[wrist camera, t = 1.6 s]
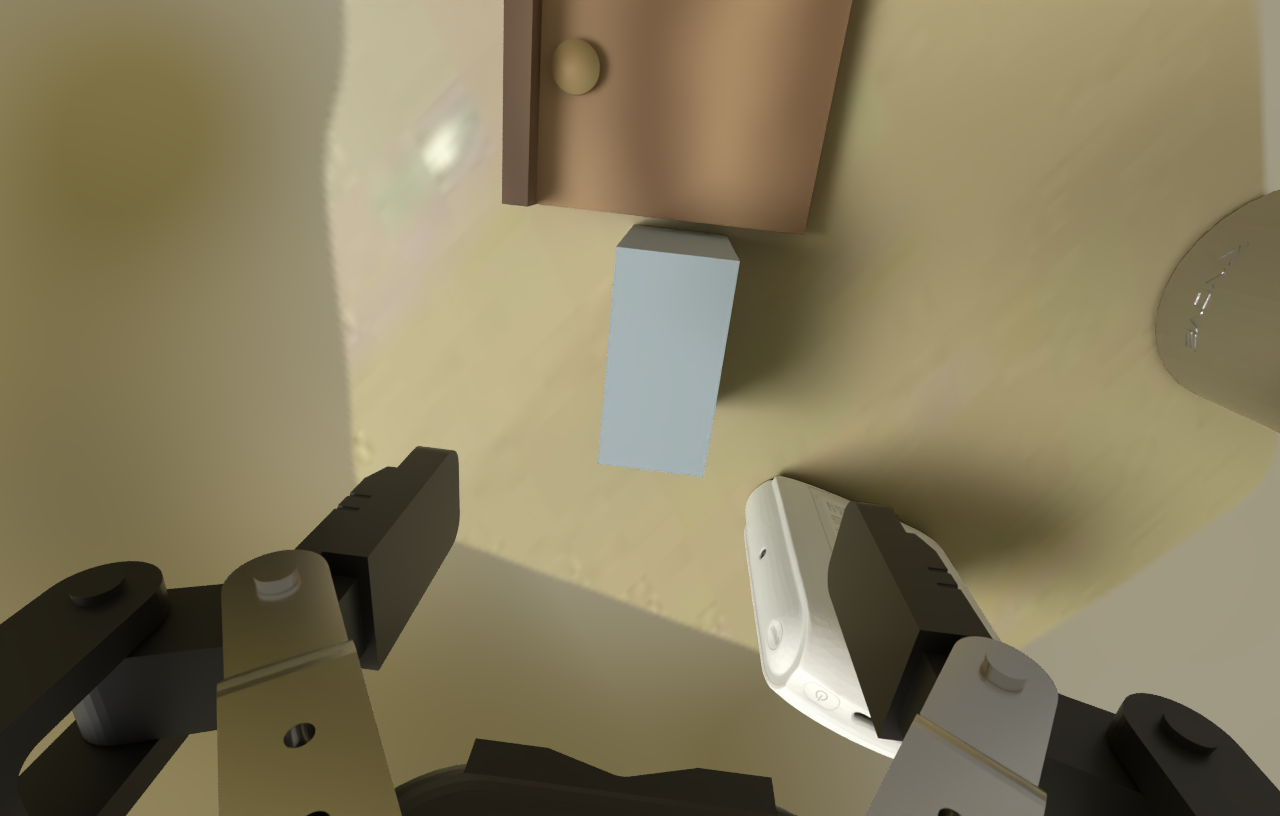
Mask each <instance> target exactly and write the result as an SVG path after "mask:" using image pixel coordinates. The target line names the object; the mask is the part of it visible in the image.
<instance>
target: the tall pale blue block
mask: <svg viewBox="0 0 1280 816" xmlns="http://www.w3.org/2000/svg"><path fill="white" fill-rule="evenodd" d="M739 264H740V260H739V258H738V257H737V255H736V253H735V251H734V249H733V247H732V245H731V243H730V241H729V239H728V237H727V236H726V235H719V234H710V233H702V232H693V231H684V230H676V229H667V228H658V227H650V226H641V225H633V227H632V228H631V229H630V230H629V232H628V233H627V234H626V235H625V237H624V238H623V239H622V240H621V242H620V243H619V244H618V245H617V247H616V257H615V269H614V281H613V292H612V304H611V316H610V328H609V339H608V351H607V363H606V375H605V387H604V398H603V410H602V422H601V434H600V446H599V457H598V464H603V465H611V466H619V467H627V468H635V469H643V470H651V471H659V472H666V473H674V474H682V475H690V476H698V477H704V472H705V466H706V460H707V454H708V448H709V442H710V436H711V431H712V425H713V419H714V413H715V407H716V401H717V395H718V389H719V383H720V377H721V371H722V365H723V359H724V353H725V347H726V341H727V335H728V329H729V323H730V317H731V311H732V306H733V300H734V294H735V288H736V282H737V276H738V270H739Z"/></svg>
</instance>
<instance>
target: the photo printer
mask: <svg viewBox="0 0 1280 816" xmlns="http://www.w3.org/2000/svg"><path fill="white" fill-rule="evenodd" d="M849 502H850V501H849V500H847V499H844V498H842V497H840V496H837V495H835V494H832V493H830V492H827V491H825V490H823V489H820V488H817V487H814V486H812V485H809V484H806V483H803V482H800V481H797V480H794V479H791V478H787V477H782V476H775V478H774V479H773V480H769V481H766V482H765V483H763V484H761V485H760V486H759V487H757V488H756V489H755V490H754V492H753V493H752V494H751V495H750V497H749V499H748V501H747V504H746V510H745V513H746V522H747V524H746V526H745V528H744V538H745V546H746V555H747V562H748V570H749V577H750V584H751V592H752V600H753V607H754V615H755V622H756V629H757V636H758V643H759V650H760V657H761V665H762V670H763V674H764V677H765V679H766V681H767V683H768V685H769V686H770V688H771V689H772V690H774V691H775V692H776V693H777V694H778V695H780V696H781V697H782V698H783V699H784V700H786V701H787V702H788V703H789V704H791V705H792V706H793V707H795V708H796V709H798V710H799V711H801V712H802V713H804V714H805V715H807V716H809V717H810V718H812V719H813V720H815V721H817V722H818V723H820V724H822V725H823V726H825V727H827V728H829V729H831V730H833V731H834V732H836V733H838V734H840V735H842V736H844V737H846V738H848V739H849V740H851V741H853V742H856V743H858V744H860V745H862V746H865V747H867V748H869V749H871V750H873V751H876V752H878V753H880V754H883V755H885V756H888V757H890V758H893V759H894V758H895V756H896V754H897V752H898V750H899V748H900V746H901V744H902V742H903V741H895V740H887V739H880V738H878V737H877V734H876V731H875V728H874V725H873V722H872V719H871V716H870V713H869V710H868V707H867V704H866V702H865V699H864V696H863V693H862V690H861V687H860V684H859V681H858V678H857V675H856V672H855V669H854V666H853V663H852V660H851V657H850V654H849V651H848V648H847V646H846V643H845V640H844V637H843V634H842V631H841V628H840V625H839V622H838V619H837V616H836V613H835V610H834V607H833V604H832V601H831V598H830V595H829V591H828V582H827V577H828V567H829V562H830V558H831V555H832V551H833V548H834V545H835V541H836V538H837V534H838V531H839V527H840V524H841V520H842V517H843V513H844V510H845V508H846V506H847V504H848V503H849ZM900 523H901V522H900ZM901 524H902V526H903V528H904V529H905V531H906V532H907V533H915V534H916V535H917V536H918V537H920V538H921V539H922V540H923V541H924V542H926V543H927V544H928V545H929V546H930V547H932V548H933V549H934V550H935V551H936V552H937V554H938V555H939V557H940V558H941V560H942V561H943V563H944V564H945V566H946V567H947V569H948V573H950V574H951V575H952V577H953V578H954V580H955V581H956V583H957V584H958V589H961V591H962V592H963V594H964V595H965V597H966V598H967V600H968V601H969V603H970V604H971V606H972V608H973V609H974V611H975V612H976V614H977V615H978V617H979V618H980V620H981V621H982V623H983V625H984V626H985V628H986V629H987V631H988V632H989V634H990V635H991V637H992V638H993V639H994V640H997V641H1000V642H1001V640H1000V639H999V637H998V636H997V634H996V633H995V631H994V630H993V628H992V626H991V625H990V623H989V622H988V620H987V619H986V617H985V616H984V614H983V612H982V611H981V609H980V608H979V606H978V604H977V603H976V601H975V600H974V598H973V597H972V595H971V593H970V592H969V590H968V589H967V587H966V586H965V584H964V583H963V581H962V579H961V578H960V576H959V575H958V573H957V571H956V570H955V568H954V566H953V565H952V564H951V562H950V560H949V558H948V557H947V556H946V554H945V552H944V551H943V550H942V548H941V547H940V546H939V545H938V544H937V543H936V542H935V541H934V540H932V539H931V538H930V537H928V536H927V535H925V534H923V533H922V532H920V531H918V530H916V529H914V528H912V527H910V526H908V525H906V524H903V523H901Z"/></svg>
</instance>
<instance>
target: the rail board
mask: <svg viewBox="0 0 1280 816" xmlns="http://www.w3.org/2000/svg"><path fill="white" fill-rule="evenodd" d="M852 1H853V0H504V55H503V163H502V204H510V205H519V206H531V205H534V204H541V205H549V206H558V207H567V208H575V209H584V210H593V211H601V212H610V213H619V214H628V215H636V216H645V217H654V218H662V219H671V220H680V221H688V222H697V223H706V224H714V225H723V226H732V227H740V228H749V229H758V230H766V231H775V232H784V233H792V234H801V235H804V233H805V228H806V223H807V218H808V213H809V209H810V204H811V199H812V194H813V189H814V184H815V180H816V175H817V170H818V165H819V160H820V155H821V151H822V146H823V141H824V136H825V131H826V126H827V122H828V117H829V112H830V107H831V102H832V97H833V93H834V88H835V83H836V78H837V73H838V68H839V64H840V59H841V54H842V49H843V44H844V39H845V35H846V30H847V25H848V20H849V15H850V10H851V6H852Z"/></svg>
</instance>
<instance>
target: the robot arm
mask: <svg viewBox="0 0 1280 816" xmlns="http://www.w3.org/2000/svg"><path fill="white" fill-rule="evenodd" d="M1155 333H1156V340H1157V348H1158V352H1159V355H1160V357H1161V359H1162V361H1163V364H1164V366H1165V368H1166V370H1167V371H1168V372H1169V373H1170V374H1171V375H1172V376H1173V378H1174V379H1175V380H1176V381H1177V382H1178V383H1179V384H1181V385H1182V386H1184V387H1185V388H1187V389H1188V390H1190V391H1192V392H1193V393H1195V394H1197V395H1199V396H1201V397H1203V398H1206V399H1208V400H1210V401H1212V402H1214V403H1217V404H1219V405H1221V406H1223V407H1225V408H1227V409H1230V410H1232V411H1234V412H1236V413H1238V414H1240V415H1243V416H1245V417H1247V418H1249V419H1251V420H1253V421H1256V422H1258V423H1260V424H1262V425H1264V426H1266V427H1269V428H1270V429H1272V430H1274V431H1276V432H1278V433H1280V190H1278V191H1274V192H1272V193H1269V194H1267V195H1265V196H1263V197H1261V198H1259V199H1256V200H1254V201H1252V202H1250V203H1248V204H1246V205H1244V206H1242V207H1241V208H1239V209H1238V210H1236V211H1235V212H1233V213H1232V214H1230V215H1229V216H1227V217H1226V218H1224V219H1223V220H1221V221H1220V222H1219V223H1217V224H1216V225H1215V226H1214V227H1213V228H1212V229H1211V230H1210V231H1208V232H1207V233H1206V234H1205V235H1204V236H1203V237H1202V238H1201V239H1200V240H1198V241H1197V242H1196V244H1195V245H1194V246H1193V247H1192V249H1191V250H1190V251H1189V252H1188V253H1187V255H1186V256H1185V257H1184V258H1183V259H1182V261H1181V262H1180V263H1179V265H1178V266H1177V268H1176V270H1175V272H1174V273H1173V275H1172V277H1171V279H1170V280H1169V282H1168V284H1167V285H1166V288H1165V290H1164V293H1163V296H1162V299H1161V302H1160V305H1159V308H1158V312H1157V321H1156V330H1155ZM459 518H460V507H459V462H458V455H457V453H456V451H454V450H446V449H438V448H430V447H422V446H418V447H416V448H415V449H414V450H413V451H412V452H411V453H410V454H409V455H408V456H407V458H406V459H405V460H404V461H403V462H402V463H401V464H400V465H399V466H398V467H397V468H396V467H386V468H384V469H382V470H380V471H378V472H376V473H374V474H372V475H370V476H368V477H366V478H364V479H363V480H362V481H361V482H360V484H359V485H358V486H357V487H356V488H355V489H354V490H353V491H352V492H351V493H350V496H347V497H346V498H345V499H344V500H343V501H342V502H341V503H340V504H339V505H338V508H337V509H334V510H333V511H332V512H331V513H330V514H329V515H328V516H327V517H326V518H325V519H324V520H323V521H322V522H321V523H320V524H319V525H318V526H317V527H316V528H315V529H314V530H313V531H312V532H311V533H310V534H309V535H308V536H307V537H306V538H305V539H304V540H303V541H302V542H301V543H300V544H299V545H298V546H297V547H296V548H295V549H294V550H282V551H276V552H272V553H268V554H264V555H262V556H259V557H257V558H254V559H252V560H250V561H248V562H246V563H244V564H243V565H241V566H239V567H238V568H237V569H235V570H234V571H233V572H232V573H231V574H230V575H229V576H228V577H227V579H226V580H225V581H224V583H223V584H218V585H207V586H197V587H186V588H177V589H176V588H175V589H166V586H165V582H164V579H163V575H162V572H161V570H160V569H159V568H158V567H156V566H154V565H153V564H149V563H145V562H139V561H127V562H116V563H110V564H105V565H101V566H97V567H94V568H90V569H87V570H85V571H82V572H79V573H77V574H74V575H72V576H70V577H68V578H66V579H64V580H62V581H60V582H59V583H57V584H55V585H54V586H52V587H51V588H49V589H48V590H47V591H45V592H44V593H42V594H41V595H40V596H38V597H37V598H36V599H34V600H33V601H32V602H30V603H29V604H28V605H26V606H25V607H23V608H22V609H21V610H19V611H18V612H17V613H15V614H14V615H12V616H11V617H10V618H8V619H7V620H6V621H4V622H3V623H2V624H0V816H126V815H127V813H128V812H129V811H130V810H131V808H132V807H133V806H134V805H135V803H136V802H137V801H138V799H139V798H140V797H141V796H142V794H143V793H144V792H145V790H146V789H147V788H148V787H149V785H150V784H151V783H152V782H153V780H154V779H155V778H156V776H157V775H158V774H159V773H160V771H161V770H162V769H163V767H164V766H165V765H166V763H167V762H168V761H169V760H170V758H171V757H172V756H173V754H174V753H175V752H176V751H177V749H178V748H179V747H180V746H181V744H182V743H183V742H184V741H185V739H186V738H187V737H188V735H189V734H194V733H200V732H207V731H213V730H217V747H218V748H217V750H218V798H219V799H218V800H219V801H218V802H219V816H797V815H795V814H793V813H791V812H789V811H787V810H785V809H783V808H781V807H778V806H776V805H775V799H774V792H773V785H772V778H770V777H762V776H754V775H747V774H739V773H731V772H724V771H717V770H709V769H702V768H695V769H687V770H679V771H671V772H663V773H655V774H647V775H639V776H631V777H621V776H616V775H613V774H611V773H608V772H606V771H603V770H601V769H598V768H596V767H594V766H591V765H588V764H586V763H584V762H581V761H579V760H576V759H574V758H571V757H569V756H566V755H564V754H562V753H559V752H557V751H554V750H552V749H549V748H544V747H536V746H529V745H521V744H514V743H506V742H499V741H491V740H484V739H476V740H475V742H474V745H473V748H472V751H471V754H470V757H469V760H468V762H467V764H461V765H455V766H450V767H446V768H442V769H438V770H435V771H432V772H429V773H427V774H424V775H421V776H418V777H416V778H414V779H412V780H410V781H408V782H406V783H404V784H402V785H400V786H398V787H396V788H395V789H394V785H393V782H392V778H391V774H390V771H389V767H388V763H387V760H386V756H385V752H384V749H383V745H382V742H381V738H380V734H379V731H378V727H377V724H376V720H375V717H374V713H373V710H372V705H371V702H370V698H369V695H368V691H367V687H366V684H365V680H364V677H363V673H362V669H361V668H363V669H371V670H379V669H380V667H381V666H382V664H383V662H384V661H385V659H386V657H387V656H388V654H389V652H390V651H391V649H392V647H393V646H394V644H395V642H396V640H397V639H398V637H399V635H400V633H401V632H402V630H403V629H404V627H405V625H406V623H407V622H408V620H409V618H410V617H411V615H412V613H413V612H414V610H415V608H416V607H417V605H418V603H419V601H420V600H421V598H422V596H423V595H424V593H425V591H426V590H427V588H428V586H429V584H430V583H431V581H432V579H433V578H434V576H435V574H436V572H437V571H438V569H439V568H440V566H441V564H442V562H443V561H444V559H445V557H446V556H447V554H448V552H449V551H450V549H451V547H452V545H453V543H454V541H455V538H456V535H457V531H458V526H459ZM827 582H828V591H829V595H830V598H831V601H832V604H833V607H834V610H835V613H836V616H837V619H838V622H839V625H840V628H841V631H842V634H843V637H844V640H845V643H846V646H847V648H848V651H849V654H850V657H851V660H852V663H853V666H854V669H855V672H856V675H857V678H858V681H859V684H860V687H861V690H862V693H863V696H864V699H865V702H866V704H867V707H868V710H869V713H870V716H871V719H872V722H873V725H874V728H875V731H876V734H877V737H878V738H880V739H887V740H895V741H903V742H902V744H901V746H900V748H899V750H898V752H897V754H896V756H895V758H894V760H893V761H892V764H891V765H890V767H889V769H888V771H887V773H886V775H885V777H884V779H883V781H882V783H881V785H880V787H879V789H878V791H877V793H876V795H875V797H874V799H873V801H872V803H871V805H870V807H869V809H868V811H867V813H866V815H865V816H1280V791H1279V790H1278V789H1277V788H1276V786H1274V784H1273V783H1272V782H1271V781H1270V780H1269V779H1268V777H1267V776H1266V775H1265V774H1264V773H1263V772H1262V771H1261V770H1260V768H1259V767H1258V766H1257V765H1256V764H1255V763H1254V762H1253V761H1252V759H1251V758H1250V757H1249V756H1248V755H1247V754H1246V753H1245V752H1244V751H1243V749H1242V748H1241V747H1240V746H1239V745H1238V744H1237V743H1236V742H1235V741H1234V740H1233V739H1232V738H1231V737H1230V736H1229V735H1228V734H1226V733H1225V732H1224V731H1223V730H1222V729H1221V728H1219V727H1218V726H1216V725H1215V724H1214V723H1213V722H1211V721H1210V720H1208V719H1207V718H1205V717H1204V716H1202V715H1201V714H1199V713H1197V712H1195V711H1193V710H1192V709H1190V708H1188V707H1186V706H1184V705H1182V704H1180V703H1177V702H1175V701H1173V700H1170V699H1167V698H1164V697H1161V696H1157V695H1153V694H1146V693H1136V694H1132V695H1129V696H1128V697H1127V698H1126V699H1125V700H1124V701H1123V703H1122V705H1121V706H1120V708H1119V710H1118V711H1117V713H1116V714H1114V713H1111V712H1108V711H1106V710H1102V709H1100V708H1097V707H1094V706H1092V705H1089V704H1086V703H1083V702H1080V701H1077V700H1075V699H1072V698H1069V697H1066V696H1064V695H1061V694H1059V693H1058V692H1057V688H1056V686H1055V685H1054V682H1053V681H1052V679H1051V678H1050V676H1049V675H1048V674H1047V673H1046V672H1045V671H1044V669H1042V668H1041V666H1039V665H1038V664H1037V663H1036V662H1035V661H1034V660H1032V659H1031V658H1030V657H1028V656H1027V655H1025V654H1024V653H1022V652H1021V651H1019V650H1017V649H1015V648H1014V647H1012V646H1009V645H1007V644H1005V643H1003V642H1000V641H997V640H994V639H993V638H992V637H991V635H990V634H989V632H988V631H987V629H986V628H985V626H984V625H983V623H982V621H981V620H980V618H979V617H978V615H977V614H976V612H975V611H974V609H973V608H972V606H971V604H970V603H969V601H968V600H967V598H966V597H965V595H964V594H963V592H962V591H961V589H958V584H957V583H956V581H955V580H954V578H953V577H952V575H951V574H950V573H948V569H947V567H946V566H945V564H944V563H943V561H942V560H941V558H940V557H939V555H938V554H937V552H936V551H935V550H934V549H933V548H932V547H930V546H929V545H928V544H927V543H926V542H924V541H923V540H922V539H921V538H920V537H918V536H917V535H916V534H915V533H907V532H906V531H905V529H904V528H903V526H902V524H901V523H900V521H899V519H898V518H897V516H896V514H895V513H894V511H893V509H892V508H891V507H890V506H888V505H880V504H872V503H864V502H856V501H850V502H849V503H848V504H847V506H846V508H845V510H844V513H843V517H842V520H841V524H840V527H839V531H838V534H837V538H836V541H835V545H834V548H833V551H832V555H831V558H830V562H829V567H828V577H827ZM70 711H72V712H73V714H74V717H75V719H76V720H75V721H74V722H73V723H72V724H71V725H70V726H69V727H68V728H67V729H66V730H65V731H64V732H63V733H62V734H61V735H60V736H59V737H58V738H57V739H56V740H55V741H54V742H53V743H52V744H51V745H50V746H49V747H48V748H47V749H46V750H45V751H44V752H43V753H42V754H41V755H40V756H39V757H38V758H37V759H36V760H35V761H34V762H33V763H32V764H31V765H30V766H29V767H28V768H27V769H26V770H25V771H24V772H23V773H22V774H21V775H20V776H19V773H20V770H21V768H22V765H23V763H24V761H25V760H26V758H27V757H28V755H29V754H30V752H31V751H32V750H33V748H34V747H35V746H36V745H37V744H38V743H39V742H40V741H41V740H42V739H43V738H44V737H45V736H46V735H47V734H48V733H49V732H50V731H51V730H52V729H53V728H54V727H55V726H56V725H57V724H58V723H59V722H60V721H61V720H63V719H64V717H66V716H67V715H68V714H69V713H70ZM18 776H19V777H18Z"/></svg>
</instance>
